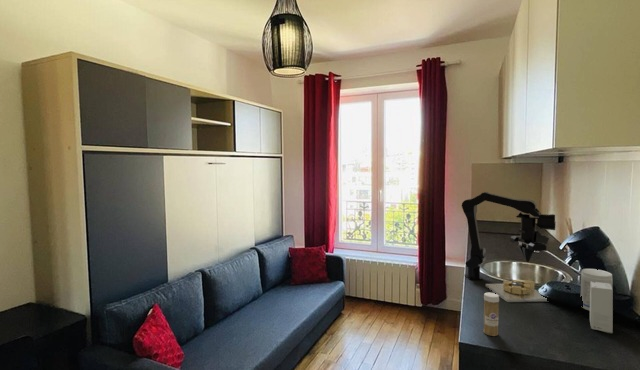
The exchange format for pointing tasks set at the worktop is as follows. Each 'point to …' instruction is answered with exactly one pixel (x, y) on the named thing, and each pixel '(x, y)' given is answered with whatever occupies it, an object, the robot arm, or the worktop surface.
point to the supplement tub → (592, 276)
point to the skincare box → (601, 306)
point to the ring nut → (518, 287)
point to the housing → (512, 297)
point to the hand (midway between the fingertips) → (527, 261)
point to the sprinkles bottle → (491, 314)
